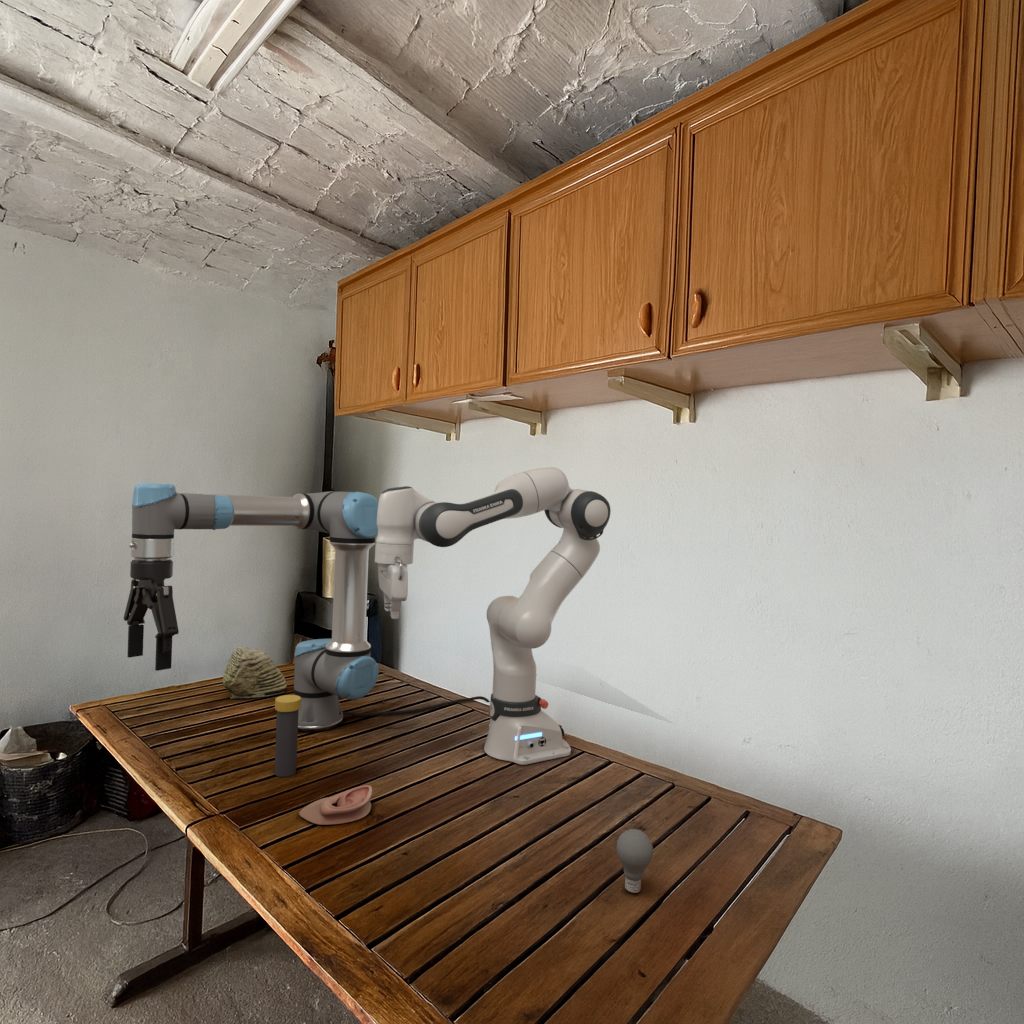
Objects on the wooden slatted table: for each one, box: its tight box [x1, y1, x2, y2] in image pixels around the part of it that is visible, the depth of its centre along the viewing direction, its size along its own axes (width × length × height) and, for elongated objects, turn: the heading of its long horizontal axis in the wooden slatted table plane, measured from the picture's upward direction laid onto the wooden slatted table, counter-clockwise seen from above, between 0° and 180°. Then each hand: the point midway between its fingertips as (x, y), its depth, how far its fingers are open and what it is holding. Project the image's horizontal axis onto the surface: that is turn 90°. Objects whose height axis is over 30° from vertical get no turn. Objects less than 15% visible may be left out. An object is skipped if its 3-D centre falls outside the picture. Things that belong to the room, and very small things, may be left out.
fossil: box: [222, 646, 288, 699], centre depth 198 cm, size 9×18×15 cm, turn 132°
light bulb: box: [615, 828, 654, 894], centre depth 106 cm, size 6×6×10 cm
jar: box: [274, 709, 299, 778], centre depth 144 cm, size 5×5×16 cm
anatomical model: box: [298, 784, 373, 826], centre depth 127 cm, size 13×4×12 cm
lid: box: [274, 694, 301, 712], centre depth 144 cm, size 6×6×2 cm
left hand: (148, 662), depth 129 cm, fingers open, 13 cm apart
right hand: (391, 614), depth 148 cm, fingers open, 8 cm apart
